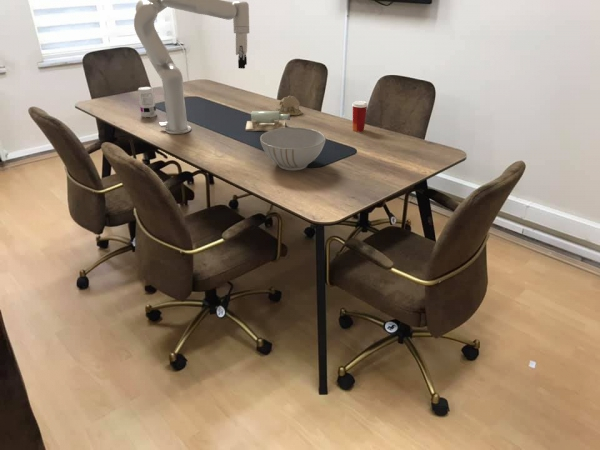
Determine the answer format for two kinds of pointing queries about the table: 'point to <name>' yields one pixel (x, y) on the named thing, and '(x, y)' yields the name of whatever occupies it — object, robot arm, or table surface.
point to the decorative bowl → (292, 146)
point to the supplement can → (147, 102)
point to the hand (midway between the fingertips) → (242, 66)
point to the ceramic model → (289, 106)
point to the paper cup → (359, 115)
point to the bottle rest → (264, 125)
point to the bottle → (268, 116)
